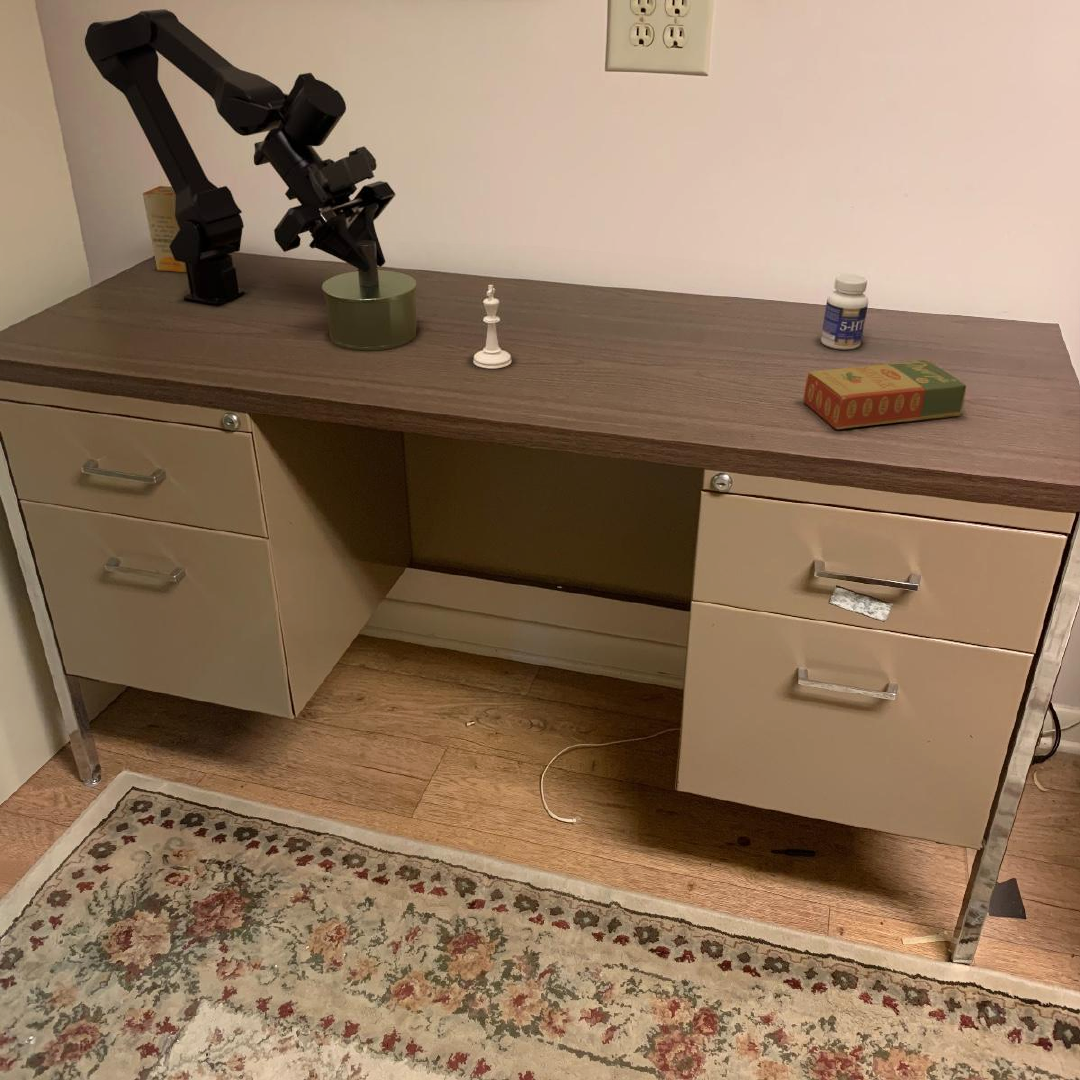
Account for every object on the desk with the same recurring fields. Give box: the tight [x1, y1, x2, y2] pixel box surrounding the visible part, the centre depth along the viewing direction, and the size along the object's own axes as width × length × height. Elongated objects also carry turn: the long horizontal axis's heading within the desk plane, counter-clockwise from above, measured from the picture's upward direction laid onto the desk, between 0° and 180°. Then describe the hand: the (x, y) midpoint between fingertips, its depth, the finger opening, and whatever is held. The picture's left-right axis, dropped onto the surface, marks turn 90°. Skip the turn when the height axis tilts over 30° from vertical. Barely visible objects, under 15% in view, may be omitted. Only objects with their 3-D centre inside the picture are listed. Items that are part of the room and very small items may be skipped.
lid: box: [321, 240, 417, 304], centre depth 135 cm, size 12×12×7 cm
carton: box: [802, 359, 967, 430], centre depth 119 cm, size 8×16×4 cm, turn 105°
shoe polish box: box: [142, 185, 187, 273], centre depth 163 cm, size 5×5×12 cm
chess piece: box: [472, 284, 513, 370], centre depth 130 cm, size 5×5×10 cm
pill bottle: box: [820, 273, 869, 351], centre depth 136 cm, size 5×5×9 cm
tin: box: [324, 291, 417, 352], centre depth 139 cm, size 12×12×6 cm
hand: (375, 267), depth 135 cm, fingers closed on lid, 3 cm apart
